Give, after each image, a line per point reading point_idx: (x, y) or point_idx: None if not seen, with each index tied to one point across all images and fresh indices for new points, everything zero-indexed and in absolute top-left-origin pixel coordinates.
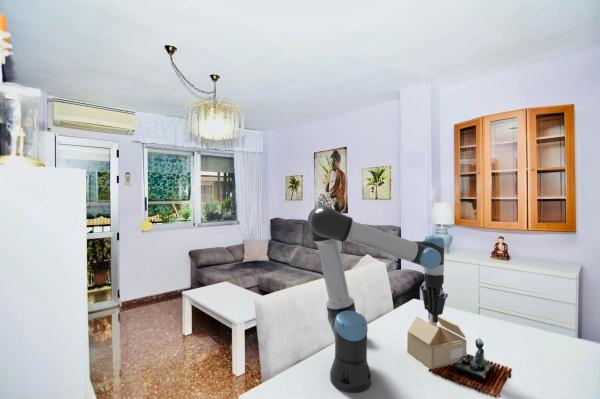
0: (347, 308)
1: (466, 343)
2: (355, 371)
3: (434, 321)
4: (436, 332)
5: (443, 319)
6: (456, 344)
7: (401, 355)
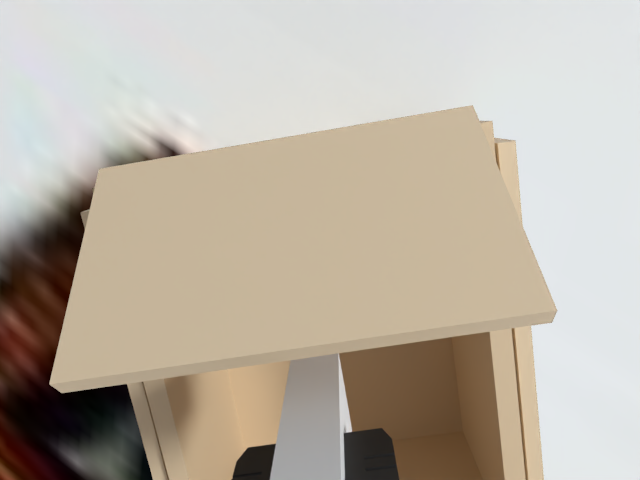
0: None
1: None
2: None
3: (254, 457)
4: (69, 321)
5: None
6: (154, 475)
7: (404, 40)
